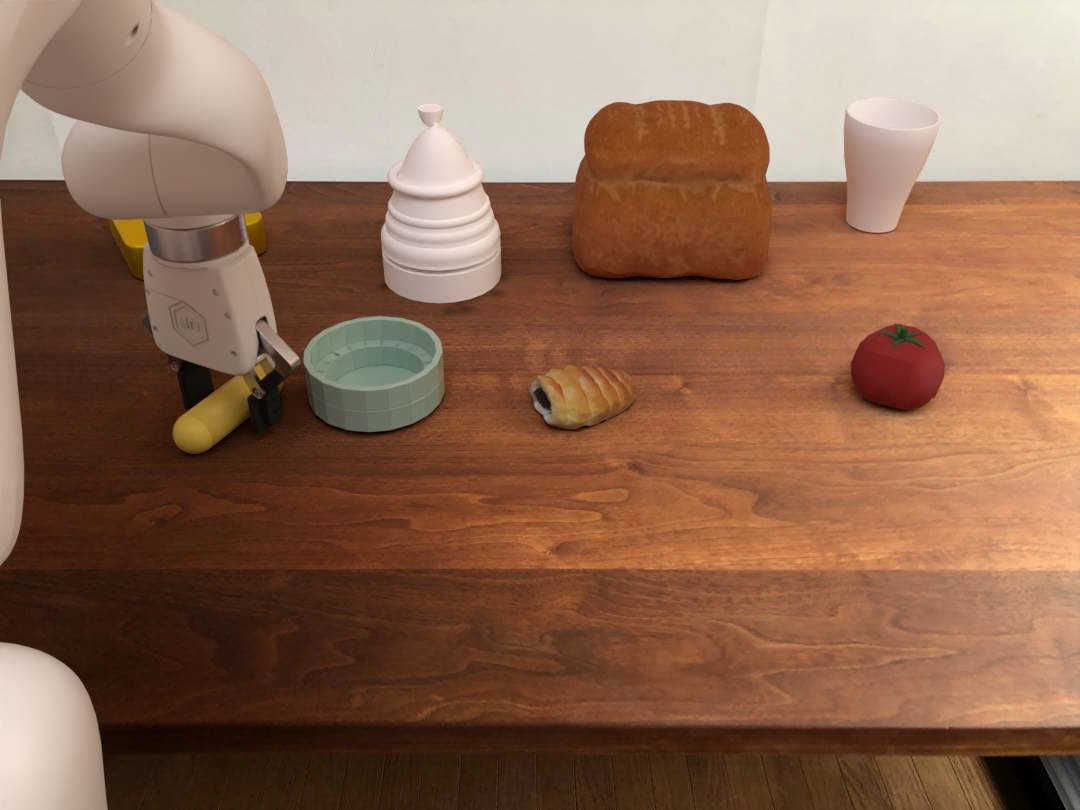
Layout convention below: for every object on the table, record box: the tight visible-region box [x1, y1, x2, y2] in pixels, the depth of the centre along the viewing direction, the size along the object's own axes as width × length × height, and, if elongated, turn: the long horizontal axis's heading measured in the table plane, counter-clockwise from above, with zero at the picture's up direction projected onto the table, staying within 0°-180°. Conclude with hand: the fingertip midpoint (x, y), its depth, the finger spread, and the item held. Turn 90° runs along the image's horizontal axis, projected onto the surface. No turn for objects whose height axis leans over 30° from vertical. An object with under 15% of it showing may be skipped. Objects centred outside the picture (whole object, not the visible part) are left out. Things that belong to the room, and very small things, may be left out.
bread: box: [572, 99, 773, 281], centre depth 115 cm, size 18×22×17 cm
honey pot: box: [380, 103, 502, 304], centre depth 111 cm, size 13×13×18 cm
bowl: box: [302, 315, 446, 433], centre depth 95 cm, size 12×12×5 cm
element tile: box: [107, 212, 268, 281], centre depth 120 cm, size 15×15×5 cm
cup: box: [843, 97, 942, 234], centre depth 123 cm, size 10×10×14 cm
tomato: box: [850, 322, 946, 411], centre depth 95 cm, size 8×8×7 cm
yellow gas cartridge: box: [172, 364, 285, 455], centre depth 93 cm, size 14×4×4 cm, turn 153°
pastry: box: [529, 364, 637, 430], centre depth 94 cm, size 9×7×4 cm
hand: (233, 413), depth 93 cm, fingers open, 7 cm apart
